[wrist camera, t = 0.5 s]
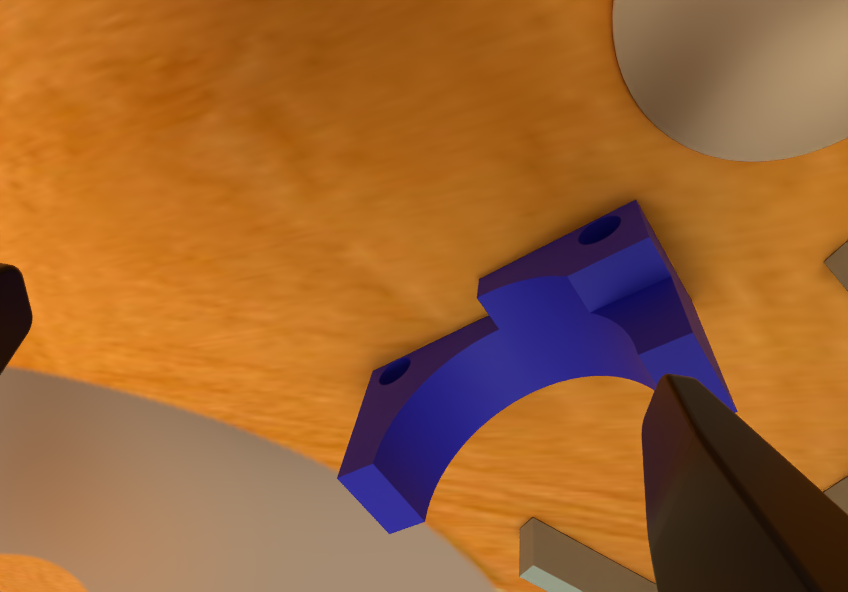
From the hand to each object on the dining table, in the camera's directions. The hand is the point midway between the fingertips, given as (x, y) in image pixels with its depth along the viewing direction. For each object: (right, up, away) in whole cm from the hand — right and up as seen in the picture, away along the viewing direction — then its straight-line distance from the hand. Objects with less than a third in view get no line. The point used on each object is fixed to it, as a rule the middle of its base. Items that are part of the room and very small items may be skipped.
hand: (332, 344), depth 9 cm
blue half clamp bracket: (+5, 0, +16) cm, 16 cm away
